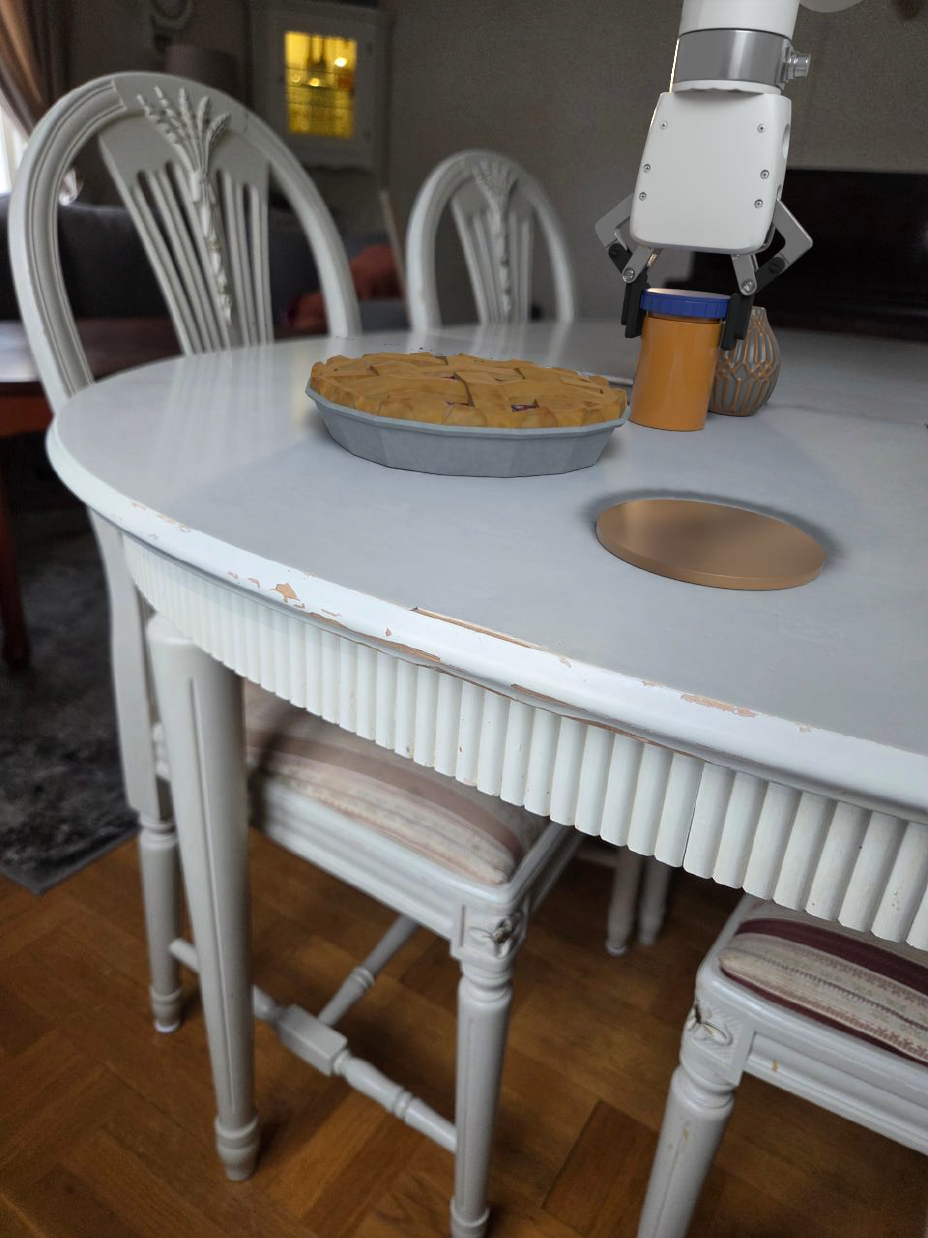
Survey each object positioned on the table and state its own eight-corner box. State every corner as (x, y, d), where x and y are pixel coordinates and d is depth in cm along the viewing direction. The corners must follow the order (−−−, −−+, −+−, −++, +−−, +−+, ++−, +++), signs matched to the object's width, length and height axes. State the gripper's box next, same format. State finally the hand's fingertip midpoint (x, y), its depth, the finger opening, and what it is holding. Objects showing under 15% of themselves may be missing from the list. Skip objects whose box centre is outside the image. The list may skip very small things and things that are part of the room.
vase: (674, 402, 75) (693, 300, 72) (739, 403, 78) (760, 303, 74) (717, 420, 70) (739, 309, 66) (785, 420, 72) (811, 313, 68)
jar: (711, 421, 69) (735, 304, 65) (695, 435, 64) (720, 308, 60) (639, 409, 71) (657, 295, 67) (618, 421, 66) (637, 299, 62)
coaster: (831, 538, 44) (834, 527, 44) (810, 611, 35) (814, 598, 34) (630, 496, 48) (632, 486, 48) (565, 553, 39) (566, 541, 39)
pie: (682, 483, 51) (698, 402, 49) (328, 489, 45) (328, 396, 43) (551, 406, 70) (559, 344, 68) (288, 402, 64) (287, 334, 61)
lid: (653, 305, 68) (656, 286, 67) (739, 315, 65) (742, 296, 65) (628, 309, 62) (631, 289, 62) (721, 320, 60) (725, 300, 59)
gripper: (864, 84, 57) (800, 352, 65) (622, 81, 63) (589, 325, 71) (859, 63, 51) (789, 363, 59) (591, 62, 57) (559, 332, 65)
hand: (680, 340), depth 65 cm, fingers closed on lid, 6 cm apart
